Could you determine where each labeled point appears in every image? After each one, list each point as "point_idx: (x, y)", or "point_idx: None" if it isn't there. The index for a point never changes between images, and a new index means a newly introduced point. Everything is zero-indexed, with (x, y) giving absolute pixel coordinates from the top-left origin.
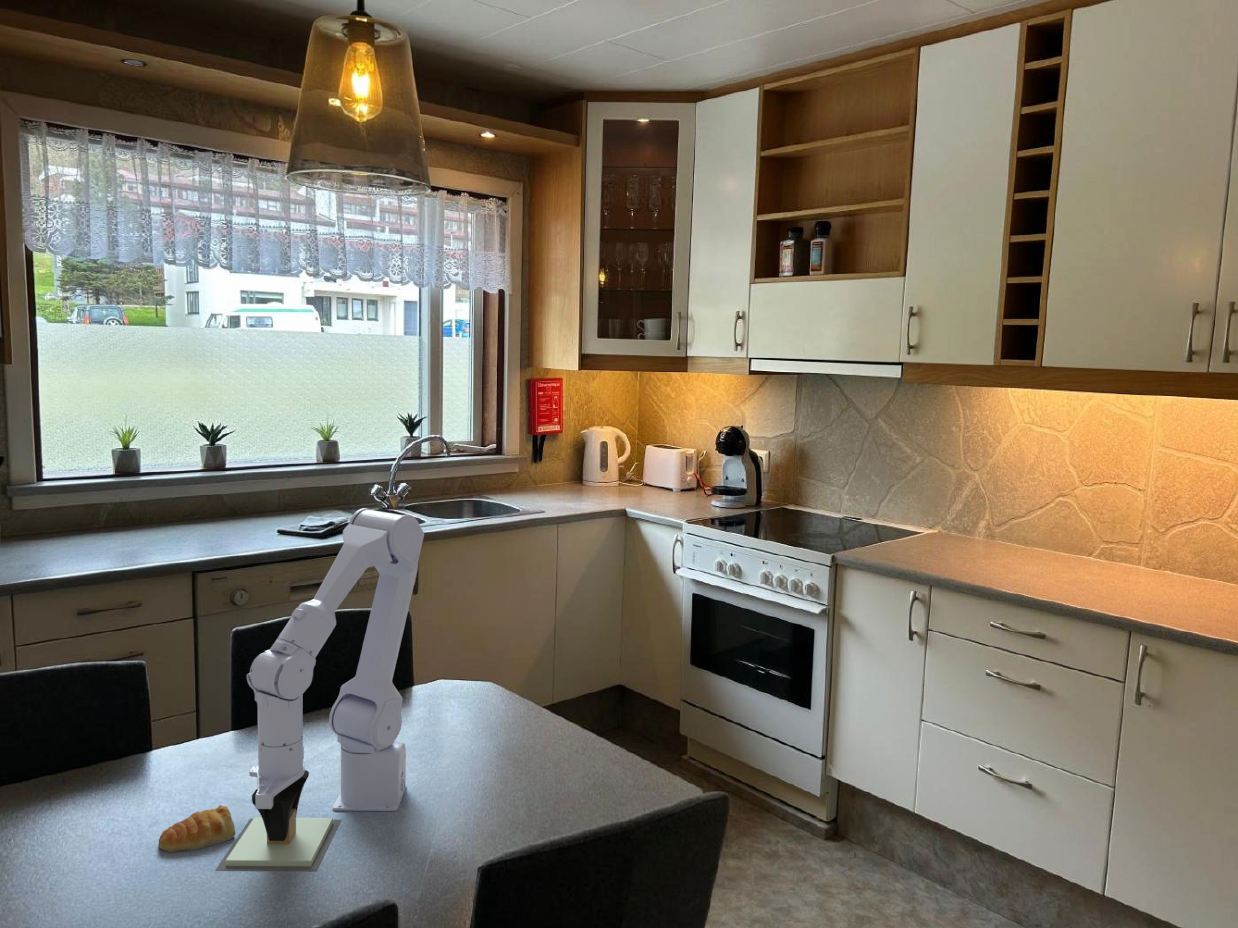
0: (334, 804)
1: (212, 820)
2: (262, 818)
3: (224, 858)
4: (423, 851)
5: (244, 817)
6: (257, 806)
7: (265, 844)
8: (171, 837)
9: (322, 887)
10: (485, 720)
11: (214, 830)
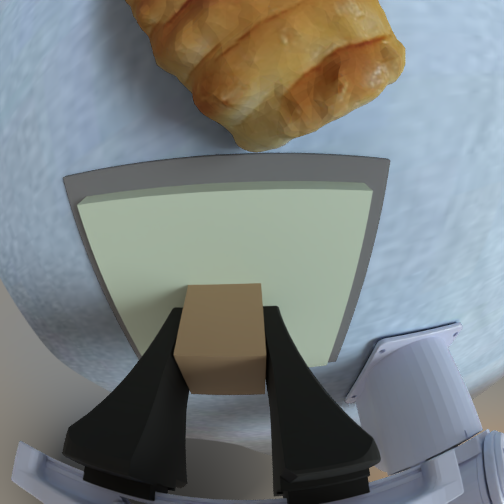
0: (393, 342)
1: (224, 60)
2: (130, 371)
3: (116, 172)
4: (232, 425)
5: (405, 135)
6: (21, 449)
7: (184, 281)
8: None
9: (111, 368)
10: (500, 370)
11: (194, 87)
